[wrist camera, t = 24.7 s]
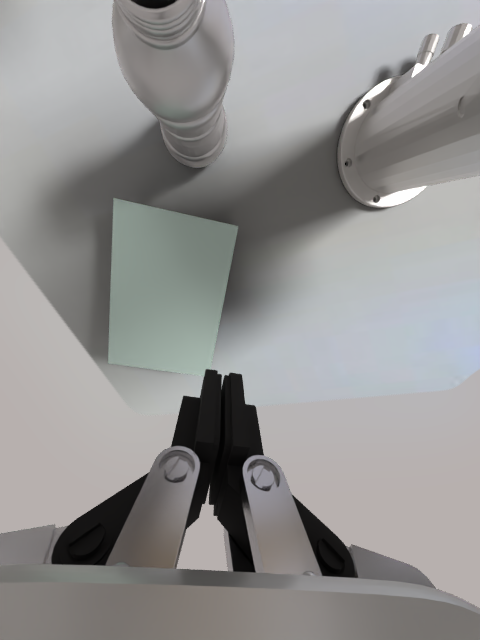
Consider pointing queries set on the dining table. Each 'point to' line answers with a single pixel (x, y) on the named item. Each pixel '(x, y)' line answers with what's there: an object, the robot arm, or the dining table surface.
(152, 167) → the dining table surface
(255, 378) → the dining table surface
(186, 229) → the cover
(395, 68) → the dining table surface
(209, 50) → the plastic bottle
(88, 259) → the dining table surface
